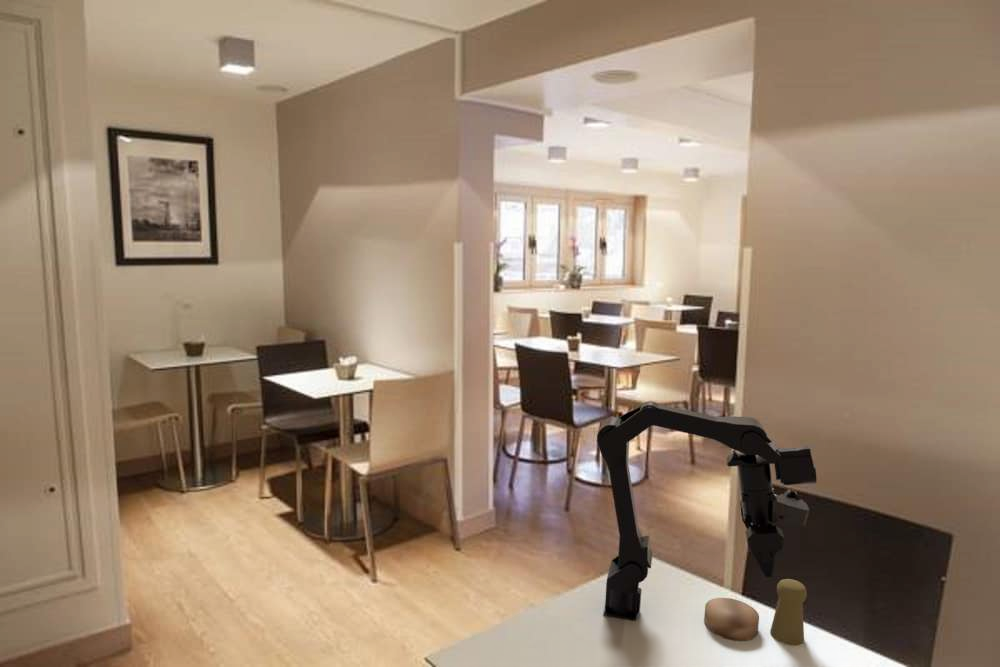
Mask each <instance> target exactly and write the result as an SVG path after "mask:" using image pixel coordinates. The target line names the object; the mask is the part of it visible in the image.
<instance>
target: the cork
mask: <svg viewBox="0 0 1000 667" xmlns="http://www.w3.org/2000/svg"><path fill="white" fill-rule="evenodd" d="M776 592H777V596H778V599H777V604H776V608H775V611H774V615H773V619H772V624H771V627H770V631H769V633H770V635H771V638H773V639H774V640H775V641H777V642H779V643H781V644H783V645H788V646H793V647H795V646H801V645H803V644H804V642H805V628H804V608H803V607H804V606H803V605H804V604H803V603H804V602H805V601H806V600H807V597H808V596H807V595H808V593H807V589H806V585H804V584H803V583H802V582H800V581H799V580H796V579H791V578H786V579H785V578H784V579H781V580H780V581H779V582H778V583H777V586H776Z"/></svg>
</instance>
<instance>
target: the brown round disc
mask: <svg viewBox="0 0 1000 667" xmlns="http://www.w3.org/2000/svg"><path fill="white" fill-rule="evenodd" d="M704 606H705V607H704V618H703V622H704V625H705V627H706V628H707V629H708V630H709V632H712V633H713V634H715V635H716V636H718V637H719V638H720V637H721V638H724V639H726V640H729V641H735V642H747V641H750V640H753V639H755V638H756V637H757V635H758V633H759V624H760V614H759V612H758V611H757V610H756V609H755V608H754V607H753V606H751V605H749V604H748V603H746V602H744V601H741V600H739V599H734V598H731V597H715V598H711V599H710V600H708V601H707V602H706V603H705V605H704Z"/></svg>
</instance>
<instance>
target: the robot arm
mask: <svg viewBox="0 0 1000 667" xmlns="http://www.w3.org/2000/svg"><path fill="white" fill-rule="evenodd" d="M652 426H655V427H659V428H662V429H663V428H664V429H668V430H671V431H676V432H680V433H684V434H688V435H694V436H698V437H703V438H706V439H710V440H713V441H715V442H718V443H720V444H722V445H724V446H725V447H728V448H729V449H730V450H731V449H732V451H731V453H730V454H729V455H728V456H727V457H726V459H725V461H726V466H728V467H737V472H738V474H737V475H738V481H739V493H740V497H741V498H740V499H741V500H740V501H739V510H740V515H741V519H742V523H743V524H744V527H745V528H746V530H745V538H746V544H747V549H748V550H749V552H750V553H751V555H752V556H753V558H754V559H755V561H756V563H757V564H758V567H759V568H760V569H761V571H762V573H763V574H764V576H765V577H766V578H772V577H773V571H774V566H775V559H776V556H777V555H776V554H777V553H778V552H782V551H783V550H784V549H786V539H785V536H784V532H783V530H782V529H781V528H780V527H779V526H778V525H773V524H777V523H780V521H781V520H782V521H787V522H791V523H794V524H796V525H798V526H801V527H803V526H806V524H807V523H806V522H807V518H808V516H809V513H810V508H809V506H808V504H807V502H805V501H804V500H803V499H801V498H800V499H799V495H798V492H797V491H796V490H793V489H789V488H788V489H787V490H786V491H785V492H784V493H783V494H782V493H780V494H776V493H775V488H774V487H773V481H772V473H771V472H772V471H771V465H772V467H773V468H772V469H773V474H774V478H775V481H780V484H782V486H795V485H796V486H797V485H809V484H811V485H813V484H817V470H816V467H815V466H814V460H813V457H812V453H811V452H812V450H811V448H810V446H808V445H801V446H796V447H786V448H777V445H776V444H775V441H772V440H771V439H770V438H769V437H768V434H767V432H766V429H765V427H764V426H763V424H762V422H760V421H759V420H758V419H756V418H754V417H747V416H733V415H732V416H713V415H709V414H704V413H700V412H696V411H692V410H687V409H684V408H683V409H682V408H678V407H674V406H669V405H664V404H661V403H657V402H656V401H653V400H651V401H650V400H648V401H645V402H643V403H642V404H641V405H640V406H638V407H636V408H633V409H631V410H630V411H627V412H625V413H624V414H622V415H620V416H619V417H615V416H613V417H609V418H607V419H605V420H604V421H603V423H602V424H601V426H600V428H599V431H598V433H597V434H596V435H597V436H596V443H597V445H598V449H599V452H600V454H601V458H602V459H603V461H604V463H605V465H606V466H607V467H606V468H607V469H608V473H609V478H610V479H609V480H610V486H611V487H610V488H611V491H612V498H613V504H614V511H615V515H616V521H617V528H618V533H619V540H618V542H619V543H618V555H616V556H615V557H613V558H612V559H611V561H610V563H609V564H610V565H609V568H608V572H607V576H606V577H607V578H606V584H605V586H606V587H605V598H604V599H605V601H604V608H603V615H604V616H609V617H614V618H621V619H626V620H629V621H630V620H631V621H636V620H637V616H638V614H639V613H640V611H641V603H642V602H641V601H642V588H641V587H639V586H640V583H642V582H644V581H645V579H646V578H648V574H649V569H652V561H653V551H652V549H651V546H650V535H649V534H648V535H645V536H643V534H642V532H641V530H640V528H639V522H638V516H637V511H636V509H637V508H636V503H635V497H634V491H633V485H632V479H631V472H630V467H629V456H630V442H631V441H632V440H633V439H635V438H636V437H638V436H640V435H641V434H642V433H643V432H644V431H646V430H647V429H649V428H651V427H652ZM780 519H781V520H780ZM772 523H773V524H772Z"/></svg>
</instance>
